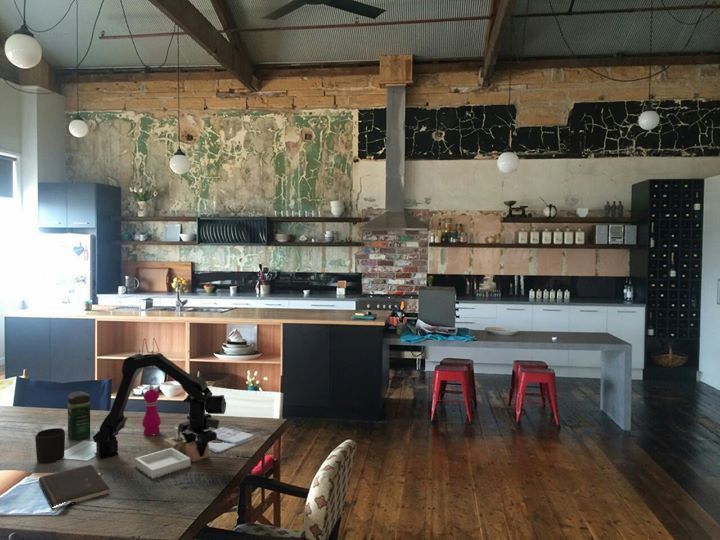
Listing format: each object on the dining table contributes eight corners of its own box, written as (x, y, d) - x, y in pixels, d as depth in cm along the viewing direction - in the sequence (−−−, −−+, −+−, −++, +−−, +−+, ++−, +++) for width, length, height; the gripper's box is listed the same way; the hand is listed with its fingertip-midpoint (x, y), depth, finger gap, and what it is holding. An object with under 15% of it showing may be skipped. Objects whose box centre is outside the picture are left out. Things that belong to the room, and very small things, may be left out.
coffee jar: (92, 438, 212) (92, 393, 211) (70, 443, 207) (70, 397, 206) (87, 431, 219) (86, 388, 218) (66, 436, 214) (65, 391, 213)
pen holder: (71, 455, 194) (71, 429, 194) (50, 466, 185) (49, 438, 185) (51, 452, 197) (50, 427, 196) (29, 462, 188) (28, 435, 187)
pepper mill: (148, 437, 213) (147, 389, 212) (139, 433, 218) (138, 386, 217) (164, 432, 219) (163, 385, 218) (154, 428, 224) (154, 382, 223)
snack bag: (255, 439, 214) (255, 434, 214) (217, 455, 197) (217, 450, 197) (223, 430, 225) (223, 425, 224) (185, 444, 208) (185, 439, 208)
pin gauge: (173, 446, 201) (173, 427, 200) (179, 445, 202) (179, 426, 202) (176, 448, 199) (175, 429, 199) (182, 446, 201) (181, 427, 200)
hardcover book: (91, 470, 183) (91, 464, 183) (109, 495, 166) (109, 488, 165) (38, 483, 173) (38, 477, 173) (52, 511, 155) (52, 503, 155)
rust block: (194, 461, 190) (193, 448, 190) (185, 456, 194) (185, 443, 194) (208, 456, 195) (208, 443, 194) (200, 452, 199) (200, 439, 198)
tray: (152, 478, 176) (152, 470, 176) (134, 466, 185) (134, 458, 185) (190, 466, 186) (190, 458, 186) (172, 455, 196) (171, 447, 195)
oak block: (174, 456, 195) (174, 445, 195) (163, 450, 200) (163, 439, 200) (193, 450, 201) (193, 439, 201) (182, 445, 206) (182, 434, 206)
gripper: (229, 414, 193) (229, 455, 194) (203, 403, 206) (203, 441, 207) (202, 421, 185) (202, 463, 186) (177, 409, 198) (177, 449, 199)
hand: (197, 454), depth 194 cm, fingers closed on rust block, 6 cm apart
